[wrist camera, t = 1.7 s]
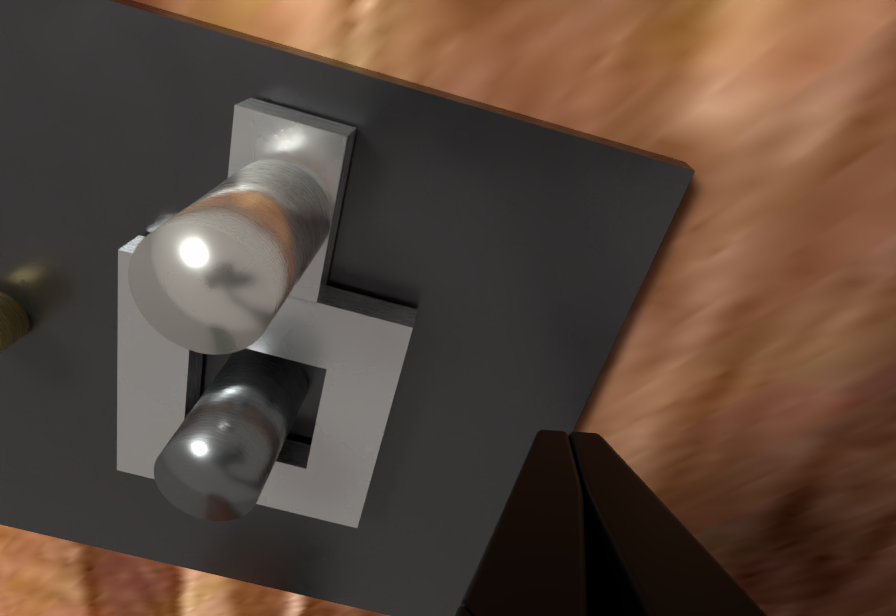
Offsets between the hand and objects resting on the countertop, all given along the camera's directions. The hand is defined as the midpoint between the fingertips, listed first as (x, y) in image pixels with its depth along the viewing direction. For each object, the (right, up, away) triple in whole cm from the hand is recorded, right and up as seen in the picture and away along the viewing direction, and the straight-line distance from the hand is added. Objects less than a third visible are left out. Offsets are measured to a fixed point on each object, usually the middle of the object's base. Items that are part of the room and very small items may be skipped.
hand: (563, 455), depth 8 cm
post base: (-8, 0, +14) cm, 16 cm away
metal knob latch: (-7, +1, +12) cm, 14 cm away
